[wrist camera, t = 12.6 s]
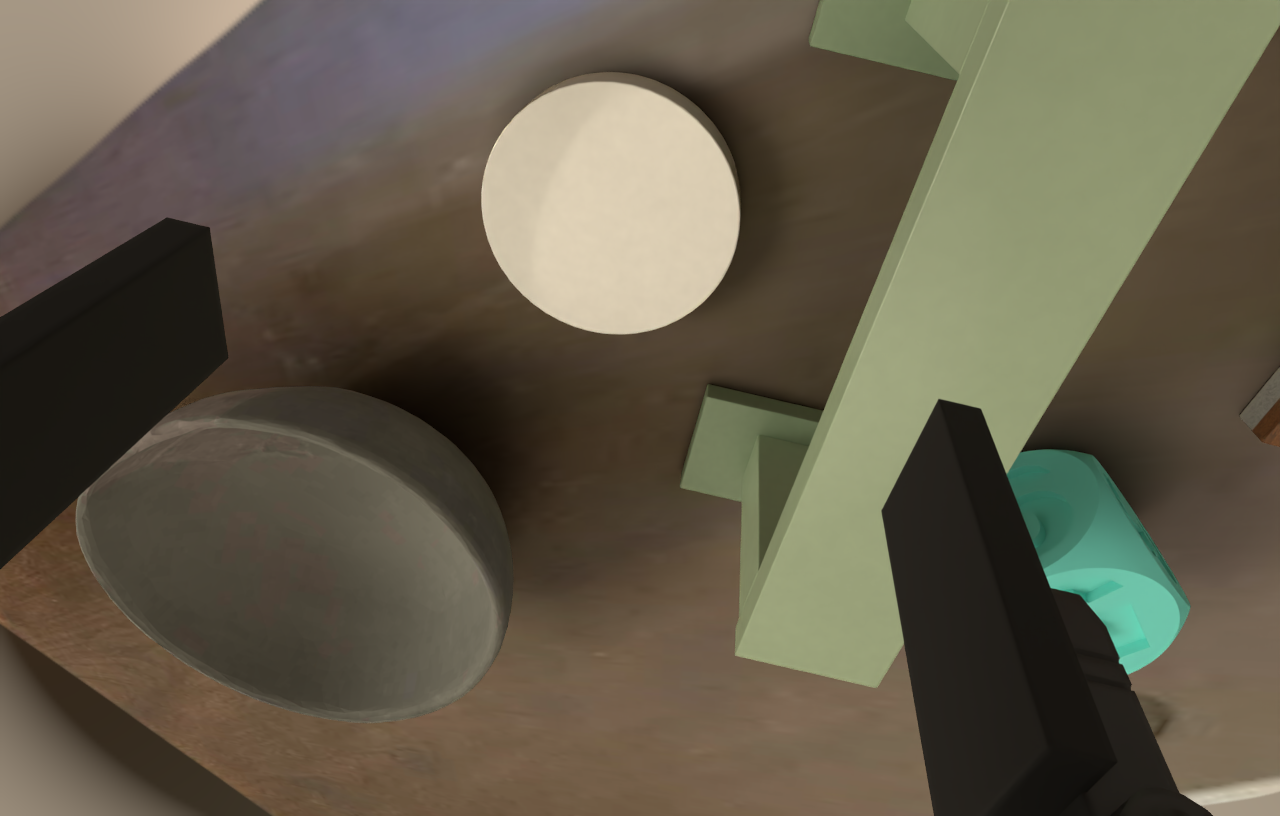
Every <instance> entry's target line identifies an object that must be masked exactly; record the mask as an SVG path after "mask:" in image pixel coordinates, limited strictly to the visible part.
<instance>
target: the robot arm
mask: <svg viewBox="0 0 1280 816" xmlns="http://www.w3.org/2000/svg"><path fill="white" fill-rule="evenodd" d="M227 359H228V352H227V345H226V338H225V332H224V325H223V318H222V311H221V304H220V297H219V290H218V283H217V276H216V269H215V262H214V255H213V248H212V241H211V235H210V228H209V227H205V226H200V225H196V224H192V223H188V222H183V221H179V220H175V219H171V218H165V219H164V220H162V221H160V222H159V223H157V224H155V225H154V226H152V227H150V228H149V229H147V230H145V231H144V232H142V233H140V234H139V235H137V236H135V237H134V238H132V239H130V240H129V241H127V242H125V243H124V244H122V245H120V246H119V247H117V248H115V249H114V250H112V251H110V252H109V253H107V254H105V255H104V256H102V257H100V258H99V259H97V260H95V261H94V262H92V263H90V264H89V265H87V266H85V267H84V268H82V269H80V270H79V271H77V272H75V273H74V274H72V275H70V276H69V277H67V278H65V279H64V280H62V281H60V282H59V283H57V284H55V285H54V286H52V287H50V288H49V289H47V290H45V291H44V292H42V293H40V294H39V295H37V296H35V297H34V298H32V299H30V300H29V301H27V302H25V303H24V304H22V305H20V306H19V307H17V308H15V309H14V310H12V311H10V312H9V313H7V314H5V315H4V316H2V317H0V569H1V568H2V567H3V566H4V565H5V564H7V563H8V562H9V561H10V560H11V559H12V558H13V557H14V556H15V555H16V554H17V553H18V552H19V551H21V550H22V549H23V548H24V547H25V546H26V545H27V544H28V543H29V542H30V541H31V540H32V539H34V538H35V537H36V536H37V535H38V534H39V533H40V532H41V531H42V530H43V529H44V528H45V527H46V526H48V525H49V524H50V523H51V522H52V521H53V520H54V519H55V518H56V517H57V516H58V515H59V514H60V513H62V512H63V511H64V510H65V509H66V508H67V507H68V506H69V505H70V504H71V503H72V502H73V501H74V500H76V499H77V498H78V497H79V496H80V495H81V494H82V493H83V492H84V491H85V490H86V489H87V488H89V487H90V486H91V485H92V484H93V483H94V482H95V481H96V480H97V479H98V478H99V477H100V476H101V475H103V474H104V473H105V472H106V471H107V470H108V469H109V468H110V467H111V466H112V465H113V464H114V463H115V462H117V461H118V460H119V459H120V458H121V457H122V456H123V455H124V454H125V453H126V452H127V451H128V450H129V449H131V448H132V447H133V446H134V445H135V444H136V443H137V442H138V441H139V440H140V439H141V438H142V437H144V436H145V435H146V434H147V433H148V432H149V431H150V430H151V429H152V428H153V427H154V426H155V425H156V424H158V423H159V422H160V421H161V420H162V419H163V418H164V417H165V416H166V415H167V414H168V413H169V412H170V411H172V410H173V409H174V408H175V407H176V406H177V405H178V404H179V403H180V402H181V401H182V400H183V399H184V398H186V397H187V396H188V395H189V394H190V393H191V392H192V391H193V390H194V389H195V388H196V387H197V386H199V385H200V384H201V383H202V382H203V381H204V380H205V379H206V378H207V377H208V376H209V375H210V374H211V373H213V372H214V371H215V370H216V369H217V368H218V367H219V366H220V365H221V364H222V363H223V362H224V361H225V360H227ZM881 512H882V518H883V524H884V530H885V535H886V541H887V547H888V553H889V559H890V564H891V570H892V576H893V582H894V587H895V593H896V599H897V605H898V610H899V616H900V622H901V628H902V633H903V639H904V645H905V651H906V656H907V662H908V668H909V674H910V680H911V685H912V691H913V697H914V703H915V708H916V714H917V720H918V726H919V731H920V737H921V743H922V749H923V754H924V760H925V766H926V772H927V778H928V783H929V789H930V795H931V801H932V806H933V812H934V816H1213V815H1212V814H1211V813H1210V812H1208V810H1206V809H1205V808H1203V807H1202V806H1200V805H1198V804H1197V803H1195V802H1194V801H1192V800H1191V799H1189V798H1187V797H1186V796H1184V795H1182V794H1180V793H1179V791H1178V789H1177V787H1176V784H1175V782H1174V780H1173V778H1172V775H1171V773H1170V771H1169V768H1168V766H1167V764H1166V762H1165V759H1164V757H1163V755H1162V752H1161V750H1160V748H1159V746H1158V743H1157V741H1156V739H1155V737H1154V734H1153V732H1152V730H1151V727H1150V725H1149V723H1148V721H1147V718H1146V716H1145V714H1144V712H1143V709H1142V707H1141V705H1140V702H1139V700H1138V698H1137V696H1136V693H1135V691H1131V685H1132V684H1131V682H1130V680H1129V677H1128V675H1127V673H1126V671H1125V668H1124V666H1123V664H1119V659H1120V657H1119V655H1118V652H1117V650H1116V648H1115V646H1114V643H1113V641H1112V639H1111V637H1110V634H1109V632H1108V630H1107V627H1106V626H1105V624H1104V623H1103V622H1102V621H1101V620H1100V618H1099V617H1098V616H1097V615H1096V614H1095V612H1094V611H1093V610H1092V609H1091V608H1090V606H1089V605H1088V604H1087V603H1086V602H1085V600H1084V599H1083V598H1082V597H1081V596H1080V595H1079V594H1075V593H1070V592H1066V591H1062V590H1058V589H1053V588H1050V585H1049V583H1048V580H1047V578H1046V575H1045V572H1044V570H1043V567H1042V565H1041V562H1040V559H1039V557H1038V554H1037V552H1036V549H1035V547H1034V544H1033V541H1032V539H1031V536H1030V534H1029V531H1028V528H1027V526H1026V523H1025V521H1024V518H1023V516H1022V513H1021V510H1020V508H1019V505H1018V503H1017V500H1016V497H1015V495H1014V492H1013V490H1012V487H1011V485H1010V482H1009V479H1008V477H1007V474H1006V472H1005V469H1004V466H1003V464H1002V461H1001V459H1000V456H999V454H998V451H997V448H996V446H995V443H994V441H993V438H992V435H991V433H990V430H989V428H988V425H987V423H986V420H985V417H984V415H983V412H982V410H981V408H977V407H972V406H968V405H964V404H959V403H955V402H951V401H947V400H942V399H938V401H937V403H936V405H935V407H934V409H933V411H932V413H931V415H930V416H929V418H928V420H927V422H926V424H925V426H924V428H923V430H922V432H921V434H920V436H919V438H918V440H917V442H916V444H915V446H914V448H913V450H912V452H911V454H910V456H909V458H908V459H907V461H906V463H905V465H904V467H903V469H902V471H901V473H900V475H899V477H898V479H897V481H896V483H895V485H894V487H893V489H892V491H891V493H890V495H889V497H888V499H887V501H886V502H885V504H884V506H883V508H882V510H881Z"/></svg>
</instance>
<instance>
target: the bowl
mask: <svg viewBox="0 0 1280 816" xmlns="http://www.w3.org/2000/svg"><path fill="white" fill-rule="evenodd" d="M76 530H77V536H78V540H79V544H80V547H81V549H82V552H83V554H84V556H85V559H86V561H87V563H88V565H89V567H90V569H91V571H92V573H93V574H94V576H95V577H96V579H97V580H98V582H99V583H100V585H101V586H102V588H103V589H104V590H105V592H106V593H107V594H108V596H109V597H110V598H111V600H112V601H113V602H114V603H115V604H116V605H117V606H118V608H119V609H120V610H121V611H122V612H123V613H124V614H125V616H126V617H127V618H128V619H129V620H130V621H131V622H132V623H133V624H134V625H135V626H137V627H138V628H139V629H140V630H141V631H142V632H143V633H144V634H146V635H147V636H148V637H149V638H151V639H152V640H153V641H155V642H156V643H158V644H159V645H160V646H162V647H163V648H164V649H165V650H167V651H168V652H169V653H170V654H172V655H173V656H175V657H176V658H178V659H179V660H181V661H182V662H184V663H185V664H187V665H188V666H190V667H192V668H193V669H195V670H197V671H198V672H200V673H202V674H204V675H205V676H207V677H209V678H211V679H213V680H214V681H216V682H218V683H220V684H222V685H224V686H227V687H229V688H231V689H233V690H235V691H237V692H239V693H242V694H244V695H246V696H248V697H251V698H253V699H256V700H259V701H262V702H264V703H267V704H270V705H272V706H276V707H279V708H282V709H286V710H289V711H293V712H297V713H301V714H305V715H309V716H314V717H319V718H325V719H331V720H338V721H346V722H355V723H380V722H390V721H398V720H404V719H409V718H415V717H419V716H422V715H425V714H428V713H431V712H434V711H437V710H439V709H441V708H443V707H445V706H447V705H449V704H451V703H453V702H455V701H456V700H458V699H460V698H461V697H463V696H464V695H465V694H466V693H468V692H469V691H470V690H471V689H473V688H474V686H475V685H476V684H477V683H478V682H479V681H480V680H481V679H482V678H483V676H484V675H485V674H486V672H487V671H488V670H489V668H490V667H491V665H492V663H493V662H494V660H495V658H496V656H497V655H498V653H499V650H500V648H501V646H502V642H503V639H504V636H505V633H506V630H507V627H508V621H509V616H510V611H511V605H512V596H513V581H514V578H513V560H512V552H511V547H510V542H509V537H508V532H507V528H506V525H505V523H504V520H503V517H502V514H501V511H500V508H499V506H498V504H497V502H496V499H495V497H494V495H493V493H492V491H491V490H490V488H489V486H488V485H487V483H486V481H485V480H484V478H483V477H482V476H481V474H480V473H479V472H478V470H477V469H476V468H475V466H474V465H473V464H472V462H471V461H470V460H469V459H468V458H467V457H466V456H465V455H464V454H463V453H462V452H461V451H460V450H459V449H458V448H457V446H455V445H454V444H453V443H452V442H451V441H450V440H449V439H447V438H446V437H445V436H443V435H442V434H441V433H439V432H438V431H437V430H435V429H434V428H433V427H431V426H430V425H428V424H427V423H425V422H424V421H422V420H421V419H419V418H418V417H416V416H414V415H412V414H410V413H408V412H406V411H405V410H403V409H401V408H399V407H397V406H395V405H392V404H390V403H388V402H386V401H383V400H380V399H377V398H374V397H371V396H368V395H364V394H361V393H358V392H355V391H351V390H346V389H342V388H336V387H320V386H297V387H273V388H261V389H250V390H240V391H233V392H228V393H222V394H218V395H215V396H211V397H208V398H204V399H201V400H199V401H196V402H194V403H191V404H189V405H187V406H184V407H182V408H180V409H177V410H175V411H173V412H171V413H168V414H167V415H166V416H165V417H164V418H163V419H162V420H161V421H160V422H159V423H158V424H156V425H155V426H154V427H153V428H152V429H151V430H150V431H149V432H148V433H147V434H146V435H145V436H144V437H142V438H141V439H140V440H139V441H138V442H137V443H136V444H135V445H134V446H133V447H132V448H131V449H129V450H128V451H127V452H126V453H125V454H124V455H123V456H122V457H121V458H120V459H119V460H118V461H117V462H115V463H114V464H113V465H112V466H111V467H110V468H109V469H108V470H107V471H106V472H105V473H104V474H103V475H101V476H100V477H99V478H98V479H97V480H96V481H95V482H94V483H93V484H92V485H91V486H90V487H89V488H87V489H86V490H85V491H84V492H83V493H82V494H81V495H80V496H79V498H78V502H77V508H76Z"/></svg>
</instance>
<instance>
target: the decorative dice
mask: <svg viewBox="0 0 1280 816" xmlns="http://www.w3.org/2000/svg"><path fill="white" fill-rule="evenodd" d="M1007 477H1008V479H1009V482H1010V485H1011V487H1012V490H1013V492H1014V495H1015V497H1016V500H1017V503H1018V505H1019V508H1020V510H1021V513H1022V516H1023V518H1024V521H1025V523H1026V526H1027V528H1028V531H1029V534H1030V536H1031V539H1032V541H1033V544H1034V547H1035V549H1036V552H1037V554H1038V557H1039V559H1040V562H1041V565H1042V567H1043V570H1044V572H1045V575H1046V578H1047V580H1048V583H1049V585H1050V588H1053V589H1058V590H1062V591H1066V592H1070V593H1075V594H1079V595H1080V596H1081V597H1082V598H1083V599H1084V600H1085V602H1086V603H1087V604H1088V605H1089V606H1090V608H1091V609H1092V610H1093V611H1094V612H1095V614H1096V615H1097V616H1098V617H1099V618H1100V620H1101V621H1102V622H1103V623H1104V624H1105V626H1106V627H1107V630H1108V632H1109V634H1110V637H1111V639H1112V641H1113V643H1114V646H1115V648H1116V650H1117V652H1118V655H1119V657H1120V659H1119V664H1123V666H1124V668H1125V671H1126V673H1127V674H1130V673H1132V672H1134V671H1137V670H1139V669H1140V668H1142V667H1144V666H1146V665H1147V664H1149V663H1150V662H1152V661H1153V660H1155V659H1156V658H1157V657H1159V656H1160V655H1161V654H1162V653H1163V652H1164V651H1165V650H1166V649H1167V648H1168V647H1169V646H1170V644H1171V643H1172V642H1173V640H1174V639H1175V638H1176V636H1177V635H1178V633H1179V631H1180V630H1181V628H1182V626H1183V625H1184V623H1185V620H1186V618H1187V616H1188V613H1189V610H1190V607H1191V606H1190V603H1189V601H1188V599H1187V597H1186V595H1185V593H1184V591H1183V590H1182V588H1181V586H1180V584H1179V583H1178V581H1177V579H1176V577H1175V576H1174V574H1173V572H1172V571H1171V569H1170V567H1169V566H1168V564H1167V563H1166V561H1165V559H1164V558H1163V556H1162V554H1161V553H1160V551H1159V550H1158V548H1157V546H1156V545H1155V543H1154V542H1153V540H1152V539H1151V537H1150V535H1149V534H1148V532H1147V531H1146V529H1145V528H1144V526H1143V525H1142V523H1141V522H1140V520H1139V519H1138V517H1137V516H1136V514H1135V513H1134V511H1133V510H1132V508H1131V507H1130V505H1129V504H1128V502H1127V501H1126V499H1125V498H1124V496H1123V495H1122V493H1121V492H1120V490H1119V489H1118V487H1117V486H1116V485H1115V483H1114V482H1113V480H1112V479H1111V478H1110V476H1109V475H1108V473H1107V472H1106V471H1105V469H1104V468H1103V467H1102V465H1101V464H1100V463H1099V462H1098V460H1097V459H1096V458H1095V457H1094V456H1093V455H1090V454H1086V453H1081V452H1077V451H1070V450H1057V449H1042V450H1033V451H1026V452H1020V454H1019V455H1018V457H1017V458H1016V460H1015V462H1014V463H1013V465H1012V467H1011V468H1010V470H1009V472H1008V473H1007Z"/></svg>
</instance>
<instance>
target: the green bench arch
mask: <svg viewBox="0 0 1280 816" xmlns="http://www.w3.org/2000/svg"><path fill="white" fill-rule="evenodd" d="M1279 26H1280V0H820V2H819V5H818V9H817V12H816V16H815V19H814V22H813V26H812V29H811V33H810V36H809V43H810V46H812V47H816V48H820V49H824V50H829V51H833V52H837V53H841V54H846V55H850V56H854V57H858V58H863V59H867V60H871V61H875V62H879V63H884V64H888V65H892V66H896V67H901V68H905V69H909V70H913V71H918V72H922V73H926V74H930V75H934V76H939V77H943V78H947V79H951V80H956V81H957V83H956V85H955V88H954V90H953V93H952V95H951V98H950V100H949V102H948V105H947V107H946V110H945V112H944V115H943V117H942V120H941V122H940V125H939V127H938V130H937V132H936V135H935V137H934V139H933V142H932V144H931V147H930V149H929V152H928V154H927V157H926V159H925V162H924V164H923V167H922V169H921V172H920V174H919V176H918V179H917V181H916V184H915V186H914V189H913V191H912V194H911V196H910V199H909V201H908V204H907V206H906V209H905V211H904V213H903V216H902V218H901V221H900V223H899V226H898V228H897V231H896V233H895V236H894V238H893V241H892V243H891V246H890V248H889V250H888V253H887V255H886V258H885V260H884V263H883V265H882V268H881V270H880V273H879V275H878V278H877V280H876V282H875V285H874V287H873V290H872V292H871V295H870V297H869V300H868V302H867V305H866V307H865V310H864V312H863V315H862V317H861V319H860V322H859V324H858V327H857V329H856V332H855V334H854V337H853V339H852V342H851V344H850V347H849V349H848V352H847V354H846V356H845V359H844V361H843V364H842V366H841V369H840V371H839V374H838V376H837V379H836V381H835V384H834V386H833V389H832V391H831V393H830V396H829V398H828V401H827V403H826V406H825V408H824V411H822V410H817V409H813V408H809V407H805V406H800V405H796V404H792V403H787V402H783V401H779V400H774V399H770V398H766V397H762V396H757V395H753V394H749V393H744V392H740V391H736V390H731V389H727V388H723V387H719V386H714V385H710V384H708V385H707V388H706V391H705V395H704V398H703V402H702V405H701V409H700V412H699V415H698V419H697V422H696V426H695V429H694V432H693V436H692V439H691V443H690V446H689V449H688V453H687V456H686V460H685V463H684V467H683V470H682V473H681V481H680V488H684V489H688V490H692V491H696V492H701V493H705V494H709V495H714V496H718V497H722V498H727V499H731V500H735V501H740V502H742V518H741V556H740V595H739V620H738V623H737V625H736V632H735V656H739V657H743V658H748V659H752V660H757V661H761V662H765V663H770V664H774V665H778V666H783V667H787V668H791V669H796V670H800V671H804V672H809V673H813V674H817V675H822V676H826V677H830V678H835V679H839V680H843V681H848V682H852V683H856V684H861V685H865V686H869V687H874V688H877V687H878V685H879V684H880V682H881V681H882V679H883V677H884V676H885V674H886V672H887V671H888V669H889V667H890V666H891V664H892V662H893V661H894V659H895V657H896V656H897V654H898V653H899V651H900V649H901V648H902V646H903V644H904V639H903V633H902V628H901V622H900V616H899V610H898V605H897V599H896V593H895V587H894V582H893V576H892V570H891V564H890V559H889V553H888V547H887V541H886V535H885V530H884V524H883V518H882V512H881V510H882V508H883V506H884V504H885V502H886V501H887V499H888V497H889V495H890V493H891V491H892V489H893V487H894V485H895V483H896V481H897V479H898V477H899V475H900V473H901V471H902V469H903V467H904V465H905V463H906V461H907V459H908V458H909V456H910V454H911V452H912V450H913V448H914V446H915V444H916V442H917V440H918V438H919V436H920V434H921V432H922V430H923V428H924V426H925V424H926V422H927V420H928V418H929V416H930V415H931V413H932V411H933V409H934V407H935V405H936V403H937V401H938V399H942V400H947V401H951V402H955V403H959V404H964V405H968V406H972V407H977V408H981V410H982V412H983V415H984V417H985V420H986V423H987V425H988V428H989V430H990V433H991V435H992V438H993V441H994V443H995V446H996V448H997V451H998V454H999V456H1000V459H1001V461H1002V464H1003V466H1004V469H1005V472H1006V474H1007V473H1008V472H1009V470H1010V468H1011V467H1012V465H1013V463H1014V462H1015V460H1016V458H1017V457H1018V455H1019V454H1020V452H1021V450H1022V449H1023V447H1024V445H1025V444H1026V442H1027V440H1028V439H1029V437H1030V435H1031V434H1032V432H1033V431H1034V429H1035V427H1036V426H1037V424H1038V422H1039V421H1040V419H1041V417H1042V416H1043V414H1044V412H1045V411H1046V409H1047V407H1048V406H1049V404H1050V403H1051V401H1052V399H1053V398H1054V396H1055V394H1056V393H1057V391H1058V389H1059V388H1060V386H1061V384H1062V383H1063V381H1064V380H1065V378H1066V376H1067V375H1068V373H1069V371H1070V370H1071V368H1072V366H1073V365H1074V363H1075V361H1076V360H1077V358H1078V356H1079V355H1080V353H1081V352H1082V350H1083V348H1084V347H1085V345H1086V343H1087V342H1088V340H1089V338H1090V337H1091V335H1092V333H1093V332H1094V330H1095V329H1096V327H1097V325H1098V324H1099V322H1100V320H1101V319H1102V317H1103V315H1104V314H1105V312H1106V310H1107V309H1108V307H1109V305H1110V304H1111V302H1112V301H1113V299H1114V297H1115V296H1116V294H1117V292H1118V291H1119V289H1120V287H1121V286H1122V284H1123V282H1124V281H1125V279H1126V278H1127V276H1128V274H1129V273H1130V271H1131V269H1132V268H1133V266H1134V264H1135V263H1136V261H1137V259H1138V258H1139V256H1140V254H1141V253H1142V251H1143V250H1144V248H1145V246H1146V245H1147V243H1148V241H1149V240H1150V238H1151V236H1152V235H1153V233H1154V231H1155V230H1156V228H1157V227H1158V225H1159V223H1160V222H1161V220H1162V218H1163V217H1164V215H1165V213H1166V212H1167V210H1168V208H1169V207H1170V205H1171V204H1172V202H1173V200H1174V199H1175V197H1176V195H1177V194H1178V192H1179V190H1180V189H1181V187H1182V185H1183V184H1184V182H1185V180H1186V179H1187V177H1188V176H1189V174H1190V172H1191V171H1192V169H1193V167H1194V166H1195V164H1196V162H1197V161H1198V159H1199V157H1200V156H1201V154H1202V153H1203V151H1204V149H1205V148H1206V146H1207V144H1208V143H1209V141H1210V139H1211V138H1212V136H1213V134H1214V133H1215V131H1216V129H1217V128H1218V126H1219V125H1220V123H1221V121H1222V120H1223V118H1224V116H1225V115H1226V113H1227V111H1228V110H1229V108H1230V106H1231V105H1232V103H1233V102H1234V100H1235V98H1236V97H1237V95H1238V93H1239V92H1240V90H1241V88H1242V87H1243V85H1244V83H1245V82H1246V80H1247V78H1248V77H1249V75H1250V74H1251V72H1252V70H1253V69H1254V67H1255V65H1256V64H1257V62H1258V60H1259V59H1260V57H1261V55H1262V54H1263V52H1264V51H1265V49H1266V47H1267V46H1268V44H1269V42H1270V41H1271V39H1272V37H1273V36H1274V34H1275V32H1276V31H1277V29H1278V28H1279Z"/></svg>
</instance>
